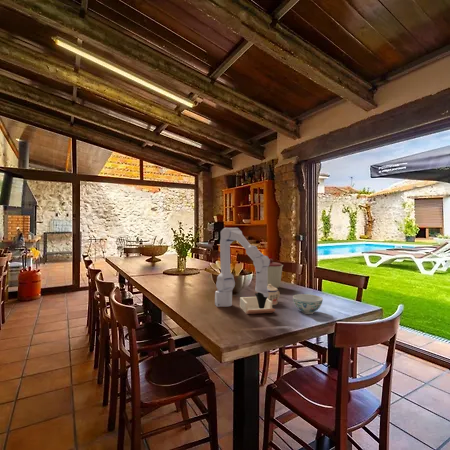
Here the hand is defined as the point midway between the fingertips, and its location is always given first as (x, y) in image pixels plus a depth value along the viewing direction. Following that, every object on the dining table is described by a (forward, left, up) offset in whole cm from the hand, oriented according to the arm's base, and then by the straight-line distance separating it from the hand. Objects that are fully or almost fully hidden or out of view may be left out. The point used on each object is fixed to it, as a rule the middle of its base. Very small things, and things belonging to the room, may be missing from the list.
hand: (261, 308), depth 142 cm
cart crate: (0, +10, -4) cm, 11 cm away
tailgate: (0, +4, -3) cm, 5 cm away
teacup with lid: (+13, +21, -4) cm, 25 cm away
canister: (+28, +64, -4) cm, 70 cm away
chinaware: (+26, +3, -4) cm, 27 cm away
